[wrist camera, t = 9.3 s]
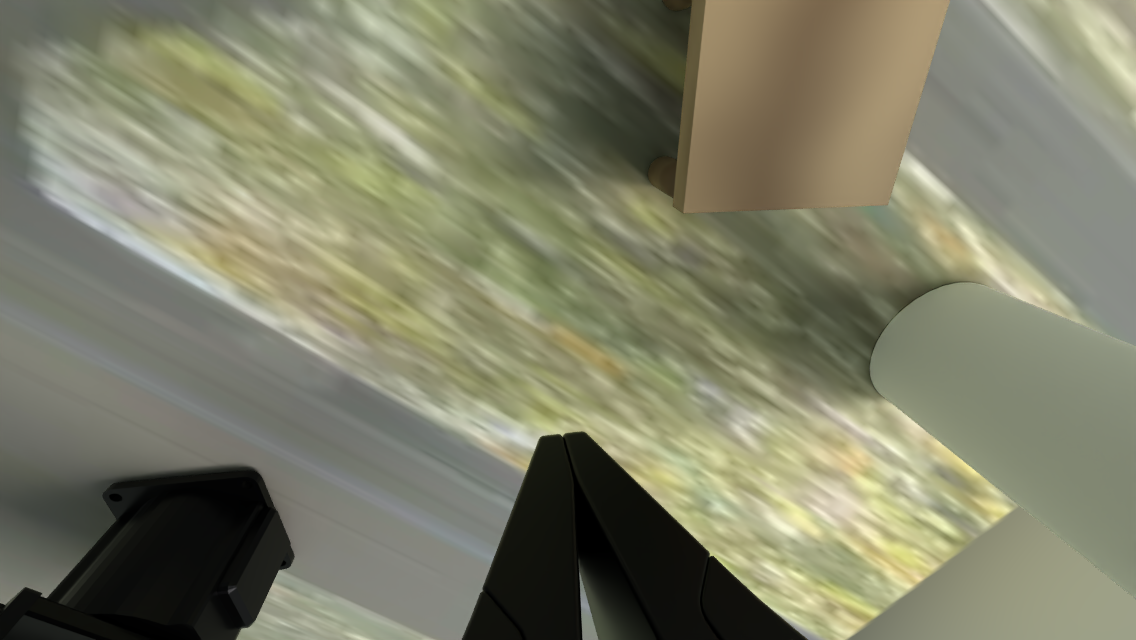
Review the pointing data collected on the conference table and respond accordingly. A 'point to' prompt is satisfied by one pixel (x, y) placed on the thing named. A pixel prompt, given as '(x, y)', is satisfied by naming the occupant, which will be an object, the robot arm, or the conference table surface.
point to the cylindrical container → (1025, 410)
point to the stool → (797, 102)
